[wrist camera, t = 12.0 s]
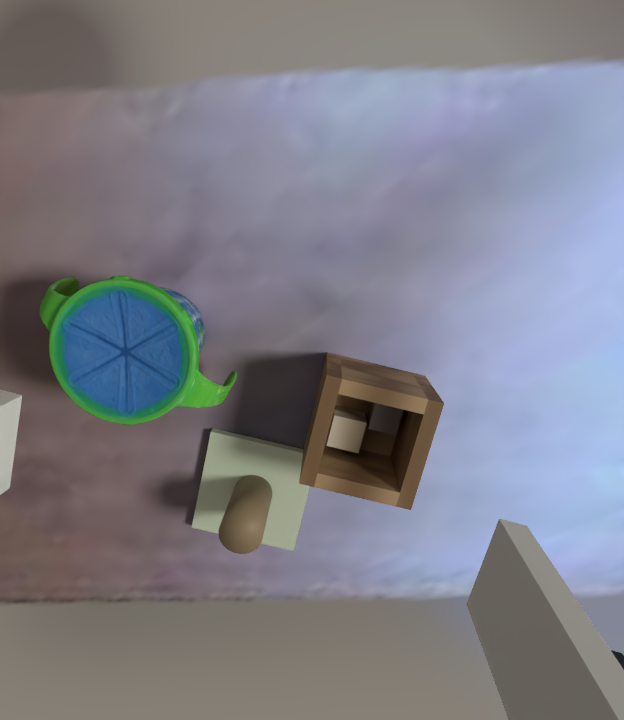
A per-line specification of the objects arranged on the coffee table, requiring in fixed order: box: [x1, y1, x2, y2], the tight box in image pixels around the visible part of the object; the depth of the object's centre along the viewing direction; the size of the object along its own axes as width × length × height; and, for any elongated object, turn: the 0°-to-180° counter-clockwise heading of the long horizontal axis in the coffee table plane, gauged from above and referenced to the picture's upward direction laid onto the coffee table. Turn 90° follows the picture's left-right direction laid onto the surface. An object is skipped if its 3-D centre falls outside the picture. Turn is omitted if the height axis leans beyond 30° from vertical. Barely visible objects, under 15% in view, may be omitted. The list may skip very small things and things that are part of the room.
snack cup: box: [39, 276, 237, 425], centre depth 42 cm, size 16×10×10 cm
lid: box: [192, 428, 310, 554], centre depth 46 cm, size 10×10×8 cm
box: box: [299, 352, 444, 510], centre depth 44 cm, size 9×9×8 cm
